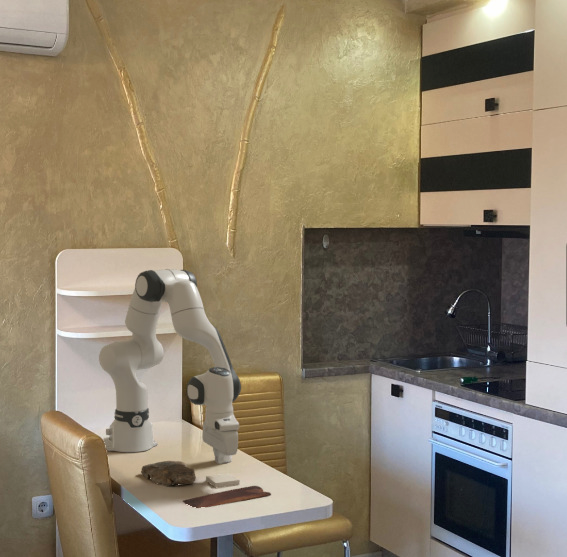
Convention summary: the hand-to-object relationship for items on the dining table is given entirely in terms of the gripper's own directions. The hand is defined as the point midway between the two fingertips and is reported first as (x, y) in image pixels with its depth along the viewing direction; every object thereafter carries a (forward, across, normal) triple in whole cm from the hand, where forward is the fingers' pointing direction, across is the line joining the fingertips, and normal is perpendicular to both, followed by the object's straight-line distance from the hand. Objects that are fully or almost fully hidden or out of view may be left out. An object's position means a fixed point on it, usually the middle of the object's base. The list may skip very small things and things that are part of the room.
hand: (219, 462), depth 277 cm
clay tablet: (+6, -7, -13) cm, 16 cm away
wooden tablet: (+6, +17, -5) cm, 19 cm away
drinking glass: (+6, -19, +10) cm, 22 cm away
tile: (+5, -1, 0) cm, 5 cm away
